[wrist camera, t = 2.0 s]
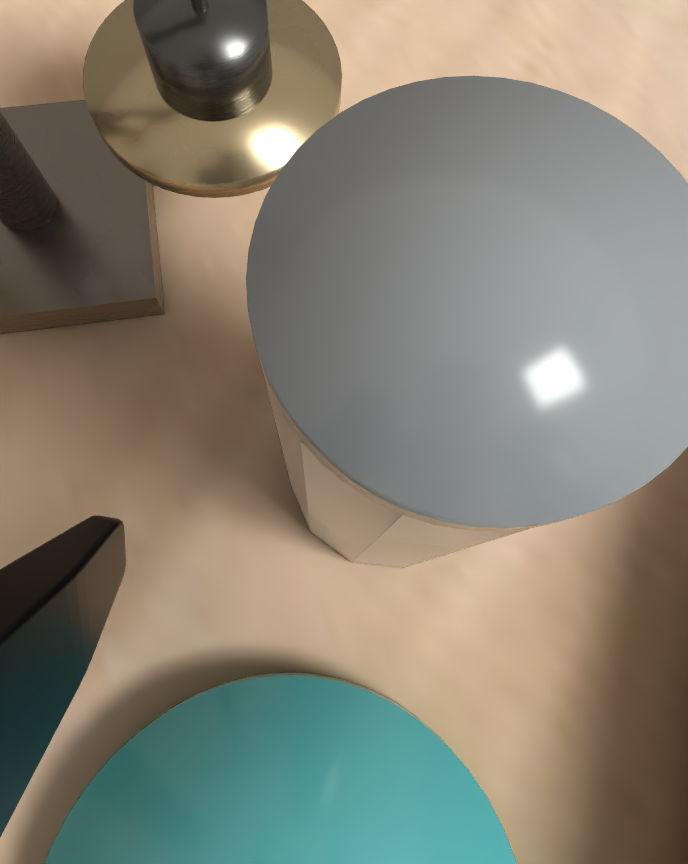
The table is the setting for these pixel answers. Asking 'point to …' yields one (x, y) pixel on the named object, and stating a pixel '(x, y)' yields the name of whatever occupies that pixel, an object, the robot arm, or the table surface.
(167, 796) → the dish
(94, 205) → the balance
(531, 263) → the cup
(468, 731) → the table surface
